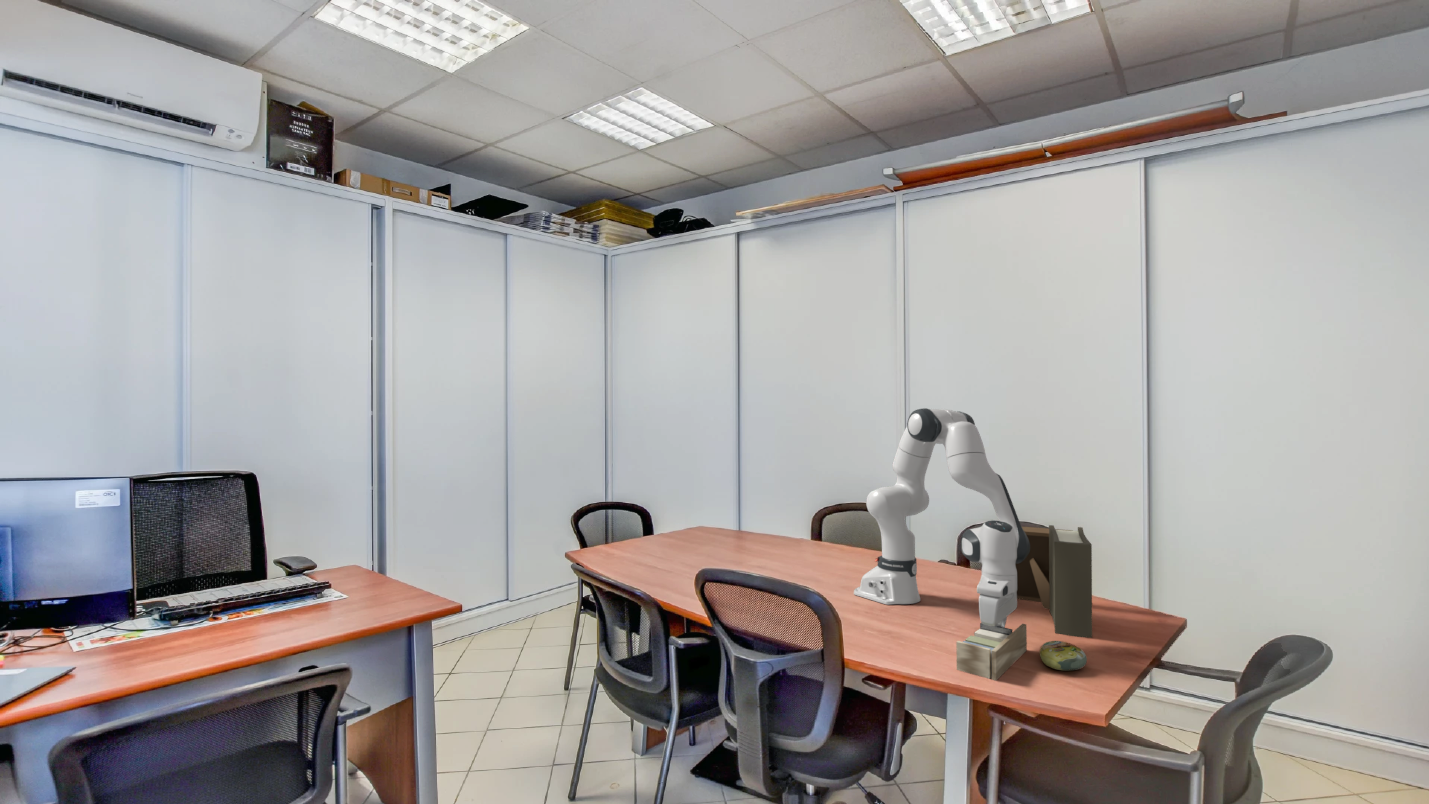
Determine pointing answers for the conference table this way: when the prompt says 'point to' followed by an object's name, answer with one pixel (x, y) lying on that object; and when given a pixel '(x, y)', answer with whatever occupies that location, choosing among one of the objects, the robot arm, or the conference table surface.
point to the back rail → (1002, 655)
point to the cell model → (1062, 656)
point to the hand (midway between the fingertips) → (999, 633)
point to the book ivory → (990, 635)
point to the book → (1070, 582)
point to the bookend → (996, 629)
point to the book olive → (982, 641)
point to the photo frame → (1035, 568)
